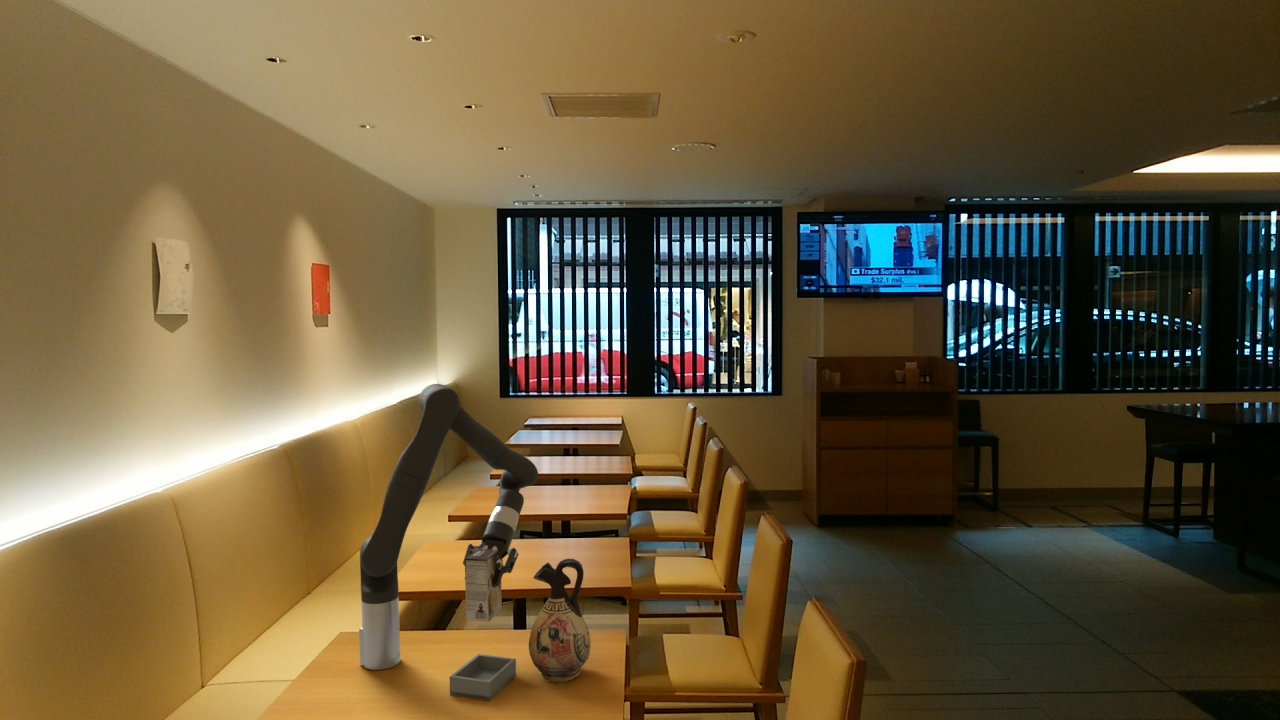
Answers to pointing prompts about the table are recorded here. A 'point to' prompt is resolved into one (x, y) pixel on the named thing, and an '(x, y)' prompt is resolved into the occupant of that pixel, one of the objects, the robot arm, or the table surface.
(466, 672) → the grey tub
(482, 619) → the coffee box
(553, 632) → the ceramic jug
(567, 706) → the table surface
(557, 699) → the table surface
